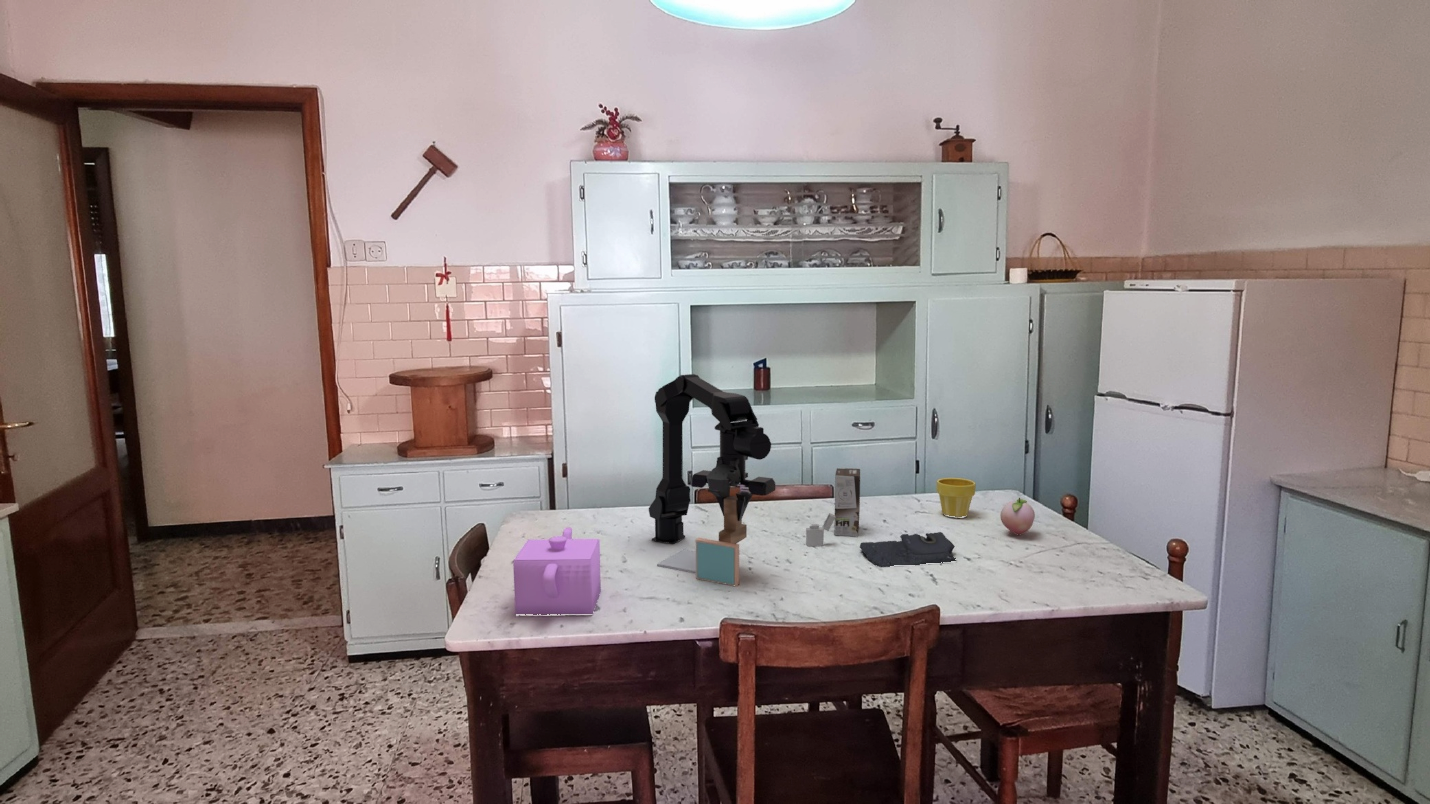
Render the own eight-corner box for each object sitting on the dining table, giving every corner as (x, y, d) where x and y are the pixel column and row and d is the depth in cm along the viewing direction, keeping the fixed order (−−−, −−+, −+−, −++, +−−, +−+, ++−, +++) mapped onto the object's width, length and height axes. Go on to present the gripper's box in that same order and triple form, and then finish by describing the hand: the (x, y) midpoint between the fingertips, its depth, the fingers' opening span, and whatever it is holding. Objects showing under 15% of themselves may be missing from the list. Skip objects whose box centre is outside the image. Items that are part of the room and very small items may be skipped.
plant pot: (948, 508, 234) (949, 475, 232) (981, 515, 226) (982, 481, 225) (928, 515, 227) (929, 481, 225) (961, 523, 219) (963, 488, 218)
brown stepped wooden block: (718, 545, 179) (718, 501, 178) (734, 535, 186) (734, 493, 185) (730, 547, 178) (730, 503, 177) (746, 537, 185) (746, 494, 184)
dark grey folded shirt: (852, 549, 199) (852, 531, 198) (935, 543, 203) (935, 525, 202) (876, 570, 184) (876, 550, 184) (964, 564, 188) (965, 544, 188)
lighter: (807, 546, 200) (807, 515, 199) (805, 544, 202) (806, 513, 201) (835, 545, 201) (835, 514, 199) (833, 543, 202) (834, 512, 201)
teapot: (604, 579, 178) (603, 518, 176) (588, 626, 154) (587, 556, 152) (536, 580, 178) (534, 519, 176) (509, 627, 154) (506, 557, 152)
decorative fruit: (1001, 528, 214) (1003, 491, 213) (1034, 532, 211) (1036, 495, 209) (997, 538, 206) (999, 500, 204) (1031, 542, 202) (1033, 503, 201)
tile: (695, 578, 178) (695, 539, 177) (699, 576, 180) (699, 537, 179) (735, 586, 174) (735, 546, 172) (739, 584, 175) (739, 544, 174)
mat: (657, 565, 187) (657, 563, 187) (683, 550, 197) (683, 549, 197) (702, 574, 181) (702, 572, 181) (726, 558, 191) (726, 556, 191)
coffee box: (858, 537, 207) (860, 476, 205) (833, 535, 209) (834, 475, 206) (859, 526, 216) (860, 468, 214) (835, 525, 217) (836, 467, 215)
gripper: (678, 454, 177) (679, 523, 179) (754, 463, 168) (754, 535, 170) (702, 445, 186) (703, 511, 189) (776, 453, 178) (776, 521, 180)
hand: (732, 519), depth 181 cm, fingers closed on brown stepped wooden block, 3 cm apart
